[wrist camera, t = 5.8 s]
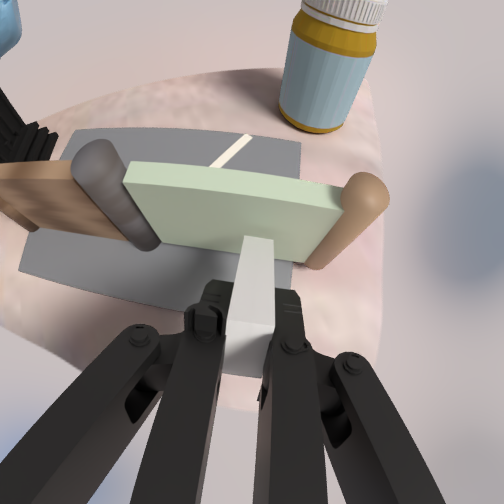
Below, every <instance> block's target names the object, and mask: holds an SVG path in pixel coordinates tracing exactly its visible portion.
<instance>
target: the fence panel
mask: <svg viewBox="0 0 504 504" xmlns="http://www.w3.org/2000/svg"><path fill="white" fill-rule="evenodd" d="M123 184H124V185H125V187H126V189H127V190H128V192H129V193H130V195H131V196H132V198H133V200H134V201H135V203H136V204H137V206H138V207H139V209H140V210H141V212H142V213H143V215H144V216H145V218H146V219H147V221H148V222H149V224H150V225H151V227H152V228H153V230H154V231H155V233H156V234H157V236H158V237H159V238H160V240H161V241H162V242H163V243H170V244H177V245H183V246H190V247H197V248H204V249H211V250H218V251H225V252H232V253H239V254H241V249H242V244H243V240H244V235H245V236H252V237H258V238H265V239H272V240H274V259H280V260H287V261H294V262H301V263H304V264H305V265H306V266H307V267H308V268H310V269H313V270H320V269H323V268H324V267H325V266H326V265H327V264H329V263H330V262H331V261H332V260H333V259H334V258H335V257H336V256H337V255H338V254H339V253H341V252H342V251H343V250H344V249H345V248H346V247H347V246H348V245H349V244H350V243H351V242H352V241H353V240H354V239H356V238H357V237H358V236H359V235H360V234H361V233H362V232H363V231H364V230H365V229H366V228H367V227H368V226H369V225H370V224H371V223H372V222H373V221H374V220H375V219H376V218H377V217H378V216H379V215H380V214H381V213H382V212H383V211H384V210H385V209H386V208H387V207H388V205H389V200H390V197H389V192H388V190H387V188H386V186H385V184H384V183H383V182H382V181H381V180H380V179H379V178H378V177H376V176H374V175H373V174H370V173H366V172H359V173H356V174H354V175H353V176H352V177H351V178H350V179H349V181H348V182H347V184H346V185H345V187H344V188H341V187H337V186H332V185H327V184H321V183H316V182H311V181H305V180H300V179H294V178H288V177H282V176H275V175H269V174H262V173H255V172H248V171H240V170H232V169H224V168H215V167H205V166H195V165H184V164H171V163H157V162H139V161H131V162H130V164H129V167H128V169H127V172H126V174H125V177H124V179H123Z"/></svg>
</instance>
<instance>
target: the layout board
mask: <svg viewBox="0 0 504 504" xmlns="http://www.w3.org/2000/svg"><path fill="white" fill-rule="evenodd" d="M96 139H107V140H109V141H111V142H112V144H113V145H114V147H115V149H116V151H117V153H118V155H119V157H120V158H121V160H122V162H123V164H124V166H125V167H126V169H128V167H129V164H130V162H131V161H139V162H157V163H171V164H184V165H195V166H205V167H215V168H224V169H232V170H240V171H248V172H255V173H262V174H269V175H275V176H282V177H288V178H294V179H299V176H300V157H301V143H300V142H294V141H289V140H283V139H276V138H270V137H263V136H256V135H248V134H246V133H245V134H239V133H230V132H220V131H209V130H195V129H178V128H98V129H81V130H75V132H74V133H73V135H72V137H71V139H70V140H69V142H68V144H67V146H66V148H65V150H64V152H63V153H62V155H61V157H60V159H59V160H73V158H74V156H75V154H76V153H77V152H78V151H79V150H80V149H81V148H82V147H83V146H84V145H86V144H87V143H89V142H91V141H93V140H96ZM239 259H240V254H239V253H232V252H225V251H218V250H211V249H204V248H197V247H190V246H183V245H177V244H170V243H163V242H162V241H161V243H160V245H159V246H158V247H157V248H156V249H154V250H152V251H149V252H144V251H141V250H139V249H138V248H137V247H136V246H135V245H134V244H133V243H132V242H131V241H130V240H129V241H122V240H116V239H109V238H103V237H96V236H90V235H84V234H77V233H71V232H65V231H58V230H52V229H46V228H39V229H38V230H37V231H35V232H29V235H28V238H27V241H26V244H25V247H24V251H23V254H22V258H21V262H20V265H19V269H18V271H20V272H23V273H27V274H30V275H33V276H36V277H40V278H43V279H46V280H50V281H53V282H57V283H60V284H64V285H67V286H71V287H75V288H78V289H82V290H86V291H90V292H94V293H98V294H102V295H106V296H110V297H115V298H119V299H123V300H128V301H132V302H137V303H141V304H146V305H151V306H156V307H161V308H166V309H171V310H176V311H182V312H184V311H185V310H186V309H187V307H189V306H191V305H192V304H195V303H199V301H200V299H201V296H202V294H203V290H204V287H205V285H206V284H207V283H208V282H210V281H211V280H212V279H215V280H222V281H228V282H235V278H236V273H237V268H238V263H239ZM292 267H293V261H287V260H280V259H274V284H275V288H282V289H289V290H290V288H291V278H292Z"/></svg>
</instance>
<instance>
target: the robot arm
mask: <svg viewBox="0 0 504 504" xmlns="http://www.w3.org/2000/svg"><path fill="white" fill-rule="evenodd" d="M21 34H22V28H21V20H20V13H19V8H18V2H17V0H0V58H1V57H2V56H3V55H4V54H5V53H6V52H8V51H9V50H10V49H11V48H13V47H14V46H15V45H16V44H17V43H18V41H19V40H20V38H21ZM184 329H185V331H183V332H181V333H178V334H173V335H159V333H158V332H157V330H156V329H154V328H153V327H151V326H149V325H145V324H135V325H132V326H129V327H128V328H126V329H125V330H123V331H122V332H121V333H120V334H119V335H118V336H117V337H116V338H115V339H114V340H113V341H112V342H111V343H110V344H109V345H108V346H107V347H106V348H105V349H104V350H103V351H102V352H101V354H100V355H99V356H98V357H97V358H96V359H95V360H94V361H93V362H92V363H91V364H90V365H89V366H88V367H87V368H86V369H85V370H84V371H83V372H82V373H81V374H80V375H79V376H78V377H77V378H76V379H75V381H74V382H73V383H72V384H71V385H70V386H69V387H68V388H67V389H66V390H65V391H64V392H63V393H62V394H61V395H60V397H58V399H57V400H56V401H55V402H54V403H53V404H52V405H51V406H50V407H49V408H48V409H47V411H46V412H45V413H44V414H43V415H42V416H41V417H40V418H39V420H38V421H37V422H36V423H35V424H34V425H33V426H32V427H31V428H30V430H29V431H28V432H27V433H26V434H25V435H24V436H23V438H22V439H21V440H20V441H19V442H18V443H17V444H16V446H15V447H14V448H13V449H12V450H11V451H10V453H9V454H8V455H7V456H6V457H5V458H4V460H3V461H2V462H1V463H0V504H87V503H88V501H89V500H90V498H91V497H92V496H93V494H94V493H95V491H96V490H97V489H98V487H99V486H100V484H101V483H102V481H103V480H104V478H105V477H106V476H107V474H108V473H109V471H110V470H111V469H112V467H113V466H114V464H115V463H116V461H117V460H118V459H119V457H120V456H121V454H122V453H123V451H124V450H125V449H126V447H127V446H128V444H129V443H130V441H131V440H132V438H133V437H134V436H135V434H136V433H137V431H138V430H139V428H140V427H141V425H142V424H143V423H144V421H145V420H146V418H147V417H148V415H149V414H150V412H151V411H152V409H153V408H154V407H155V405H156V404H157V402H158V401H159V399H160V398H161V396H162V398H161V401H160V404H159V407H158V410H157V413H156V416H155V420H154V423H153V426H152V429H151V432H150V435H149V439H148V442H147V445H146V448H145V452H144V455H143V458H142V462H141V465H140V469H139V472H138V476H137V479H136V482H135V486H134V490H133V493H132V497H131V501H130V504H200V502H201V496H202V489H203V484H204V478H205V471H206V466H207V459H208V454H209V448H210V442H211V436H212V429H213V424H214V418H215V412H216V406H217V400H218V395H219V389H220V381H221V374H222V373H225V374H231V375H238V376H246V377H254V378H261V377H262V374H263V380H262V385H261V389H260V392H259V395H258V399H257V401H259V417H258V434H257V449H256V464H255V478H254V492H253V504H328V497H327V481H326V467H325V455H324V445H325V448H326V451H327V453H328V456H329V459H330V461H331V464H332V467H333V469H334V472H335V475H336V477H337V480H338V483H339V485H340V488H341V490H342V493H343V496H344V499H345V501H346V504H446V503H445V501H444V499H443V497H442V495H441V493H440V491H439V488H438V487H437V485H436V482H435V480H434V479H433V476H432V474H431V473H430V471H429V469H428V467H427V465H426V463H425V461H424V459H423V457H422V455H421V453H420V451H419V450H418V448H417V446H416V444H415V442H414V440H413V438H412V437H411V435H410V433H409V431H408V429H407V427H406V426H405V424H404V422H403V420H402V419H401V417H400V415H399V413H398V411H397V410H396V408H395V406H394V404H393V403H392V401H391V399H390V397H389V396H388V394H387V392H386V391H385V389H384V387H383V385H382V384H381V382H380V380H379V378H378V377H377V375H376V373H375V372H374V370H373V368H372V367H371V365H370V363H369V362H368V361H367V360H366V359H365V358H364V357H363V356H361V355H359V354H357V353H354V352H344V353H341V354H339V355H338V356H337V357H336V358H335V359H334V358H331V357H328V356H325V355H322V354H320V353H318V352H316V351H315V350H313V349H312V346H311V344H310V342H309V341H308V340H307V339H306V337H305V330H304V322H303V315H302V308H301V301H300V297H299V296H298V294H297V293H296V292H295V290H289V289H282V288H275V284H274V240H272V239H265V238H258V237H252V236H245V235H244V240H243V244H242V249H241V254H240V259H239V263H238V268H237V273H236V278H235V282H228V281H222V280H215V279H212V280H211V281H210V282H208V283H207V284H206V285H205V287H204V290H203V294H202V296H201V299H200V301H199V303H195V304H192V305H191V306H189V307H187V309H186V310H185V311H184Z"/></svg>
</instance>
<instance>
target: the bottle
mask: <svg viewBox="0 0 504 504" xmlns="http://www.w3.org/2000/svg"><path fill="white" fill-rule="evenodd" d="M386 7H387V0H302V2H301V9H300V11H299V12H298V14H297V15H296V16H295V18H294V19H293V24H292V28H291V34H290V39H289V45H288V51H287V57H286V63H285V68H284V74H283V80H282V85H281V91H280V97H279V109H280V111H281V113H282V114H283V116H284V117H285V118H286V119H287V120H288V121H289V122H290V123H292V124H293V125H294V126H296V127H297V128H300V129H302V130H304V131H308V132H312V133H327V132H332V131H335V130H337V129H339V128H340V127H341V126H342V125H343V123H344V121H345V119H346V117H347V115H348V113H349V110H350V108H351V106H352V104H353V101H354V99H355V97H356V94H357V92H358V90H359V87H360V85H361V83H362V80H363V78H364V76H365V73H366V71H367V69H368V66H369V64H370V62H371V59H372V57H373V54H374V52H375V49H376V31H377V30H378V27H379V22H381V20H382V17H383V15H384V12H385V9H386Z"/></svg>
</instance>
